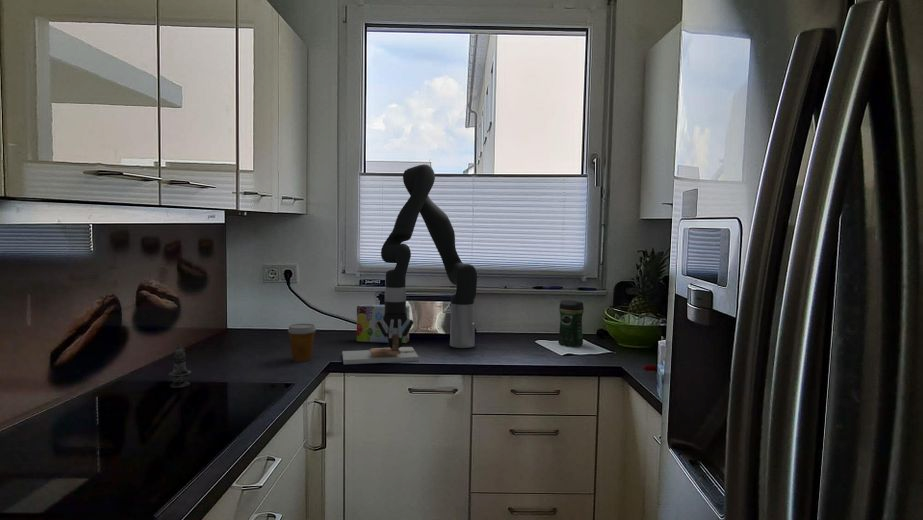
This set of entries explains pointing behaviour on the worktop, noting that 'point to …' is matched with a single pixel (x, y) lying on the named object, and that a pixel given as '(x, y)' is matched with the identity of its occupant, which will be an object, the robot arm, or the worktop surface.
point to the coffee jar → (571, 323)
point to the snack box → (374, 324)
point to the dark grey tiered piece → (179, 369)
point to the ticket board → (379, 356)
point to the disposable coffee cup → (301, 341)
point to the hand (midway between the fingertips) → (394, 347)
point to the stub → (387, 350)
